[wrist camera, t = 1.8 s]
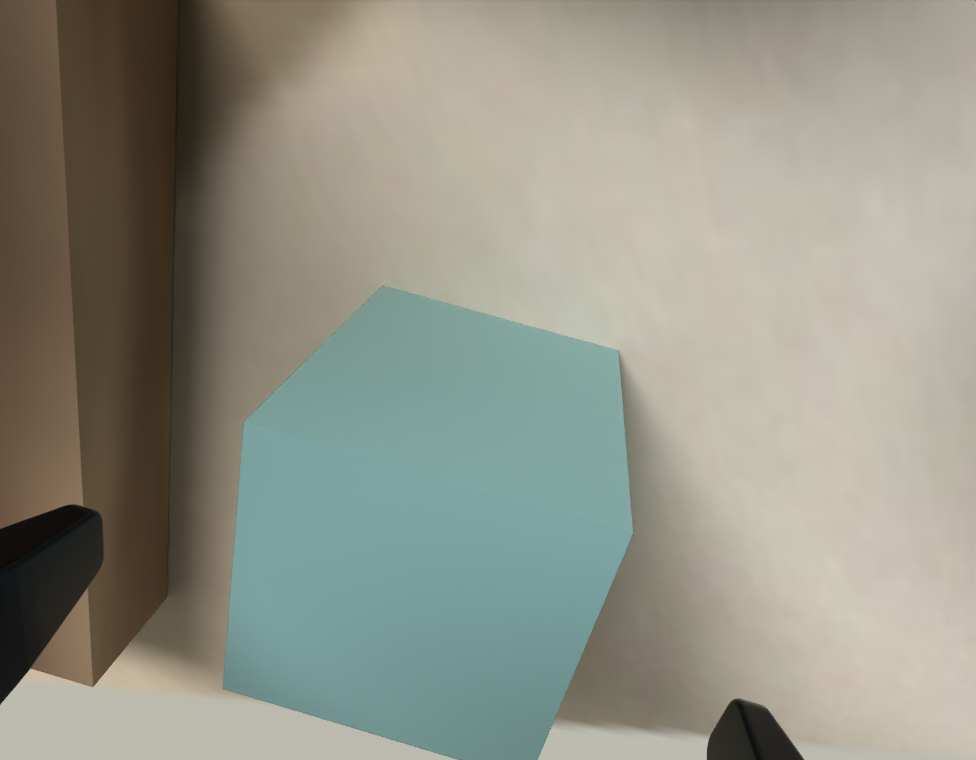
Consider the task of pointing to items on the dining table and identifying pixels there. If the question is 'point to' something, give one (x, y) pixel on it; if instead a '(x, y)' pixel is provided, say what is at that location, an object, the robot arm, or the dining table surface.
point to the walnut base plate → (89, 296)
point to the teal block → (429, 527)
